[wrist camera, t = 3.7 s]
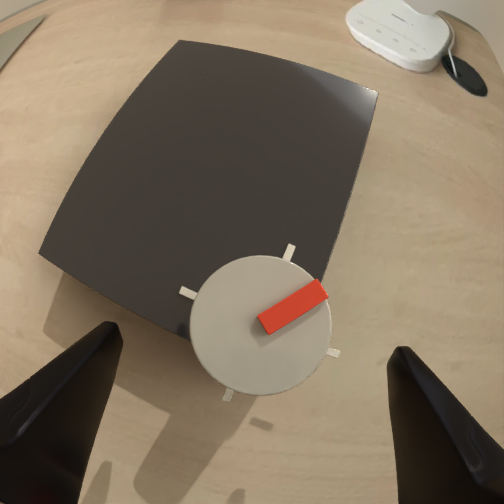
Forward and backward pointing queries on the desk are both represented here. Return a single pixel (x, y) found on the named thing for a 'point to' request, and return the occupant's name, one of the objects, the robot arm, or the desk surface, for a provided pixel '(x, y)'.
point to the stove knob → (260, 325)
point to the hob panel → (212, 178)
